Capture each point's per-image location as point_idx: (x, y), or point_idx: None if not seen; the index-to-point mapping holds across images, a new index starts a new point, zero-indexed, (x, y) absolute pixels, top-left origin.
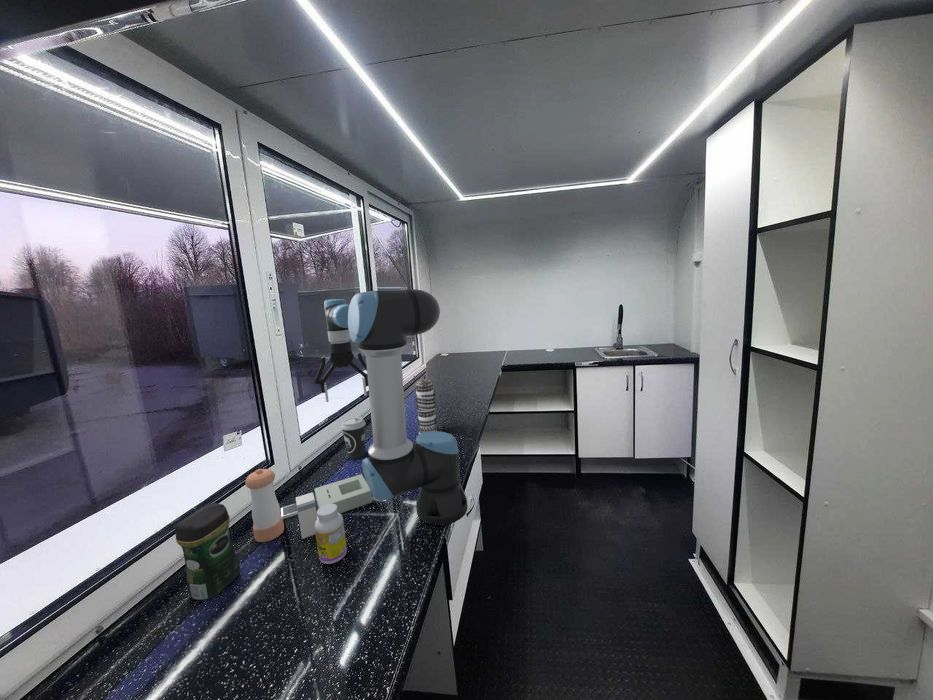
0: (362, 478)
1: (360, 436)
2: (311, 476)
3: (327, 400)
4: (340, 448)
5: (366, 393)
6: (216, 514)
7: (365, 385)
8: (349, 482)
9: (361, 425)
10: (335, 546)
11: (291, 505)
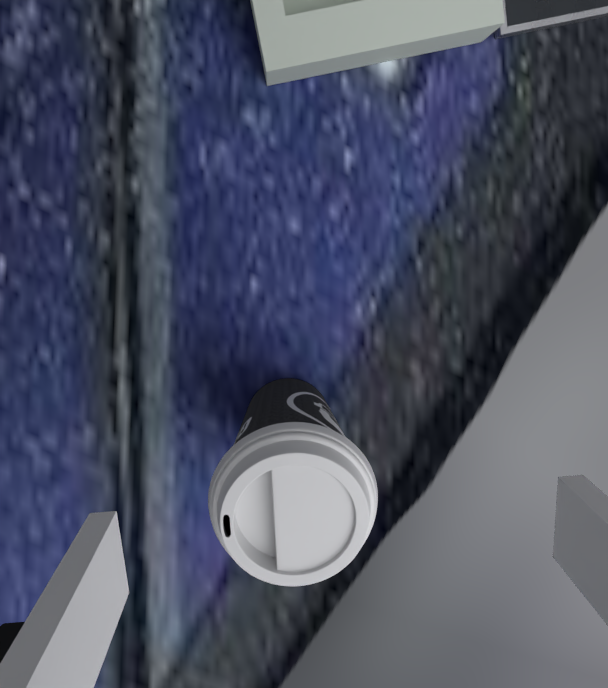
0: (263, 14)
1: (255, 422)
2: (499, 289)
3: (577, 484)
4: None
5: (82, 528)
6: None
7: (34, 612)
8: (331, 7)
9: (236, 454)
10: None
11: (588, 6)
